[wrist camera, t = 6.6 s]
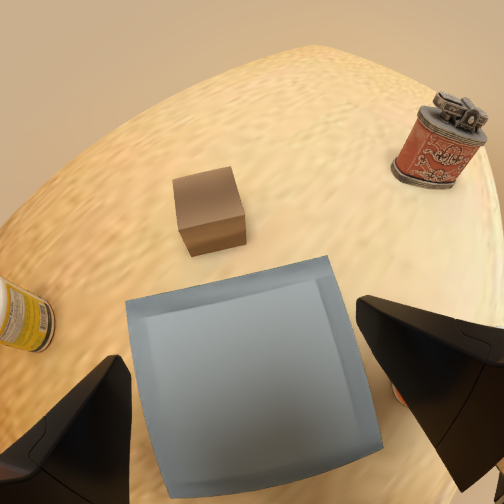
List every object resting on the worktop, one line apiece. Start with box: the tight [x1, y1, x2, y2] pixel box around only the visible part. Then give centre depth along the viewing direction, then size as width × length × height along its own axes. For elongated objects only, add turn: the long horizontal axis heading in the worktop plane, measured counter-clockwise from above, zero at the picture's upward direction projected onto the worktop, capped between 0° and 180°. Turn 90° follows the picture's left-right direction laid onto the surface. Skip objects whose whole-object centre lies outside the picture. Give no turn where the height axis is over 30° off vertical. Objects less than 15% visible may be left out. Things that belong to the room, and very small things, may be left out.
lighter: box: [391, 92, 489, 190], centre depth 18 cm, size 8×3×10 cm, turn 90°
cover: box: [125, 255, 383, 498], centre depth 11 cm, size 6×6×10 cm
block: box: [173, 166, 246, 257], centre depth 19 cm, size 4×4×4 cm
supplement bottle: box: [0, 276, 54, 352], centre depth 13 cm, size 5×5×8 cm
